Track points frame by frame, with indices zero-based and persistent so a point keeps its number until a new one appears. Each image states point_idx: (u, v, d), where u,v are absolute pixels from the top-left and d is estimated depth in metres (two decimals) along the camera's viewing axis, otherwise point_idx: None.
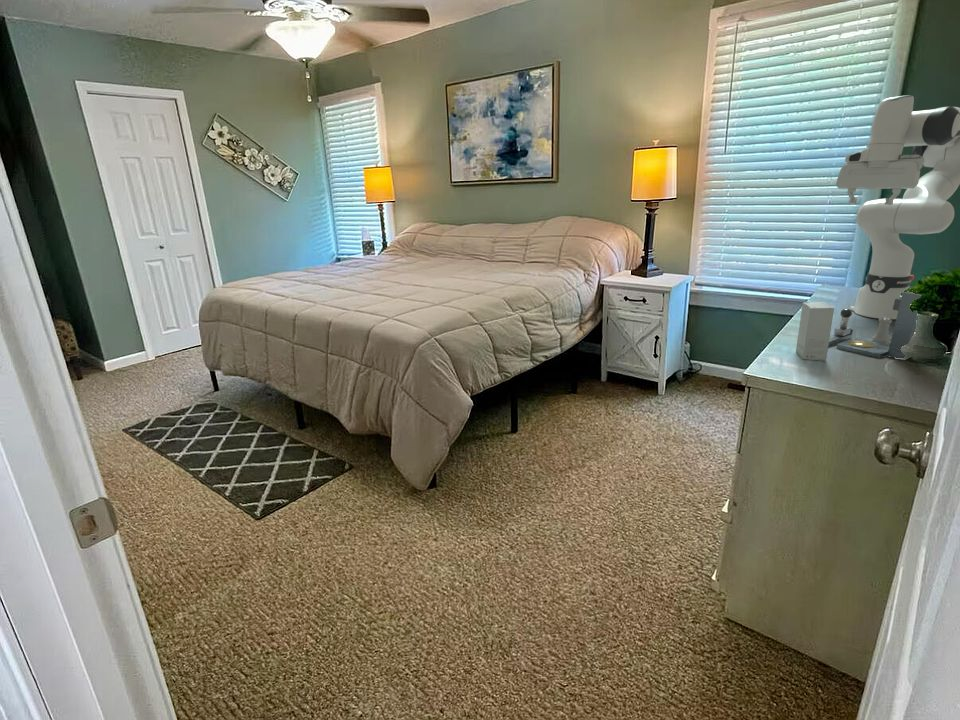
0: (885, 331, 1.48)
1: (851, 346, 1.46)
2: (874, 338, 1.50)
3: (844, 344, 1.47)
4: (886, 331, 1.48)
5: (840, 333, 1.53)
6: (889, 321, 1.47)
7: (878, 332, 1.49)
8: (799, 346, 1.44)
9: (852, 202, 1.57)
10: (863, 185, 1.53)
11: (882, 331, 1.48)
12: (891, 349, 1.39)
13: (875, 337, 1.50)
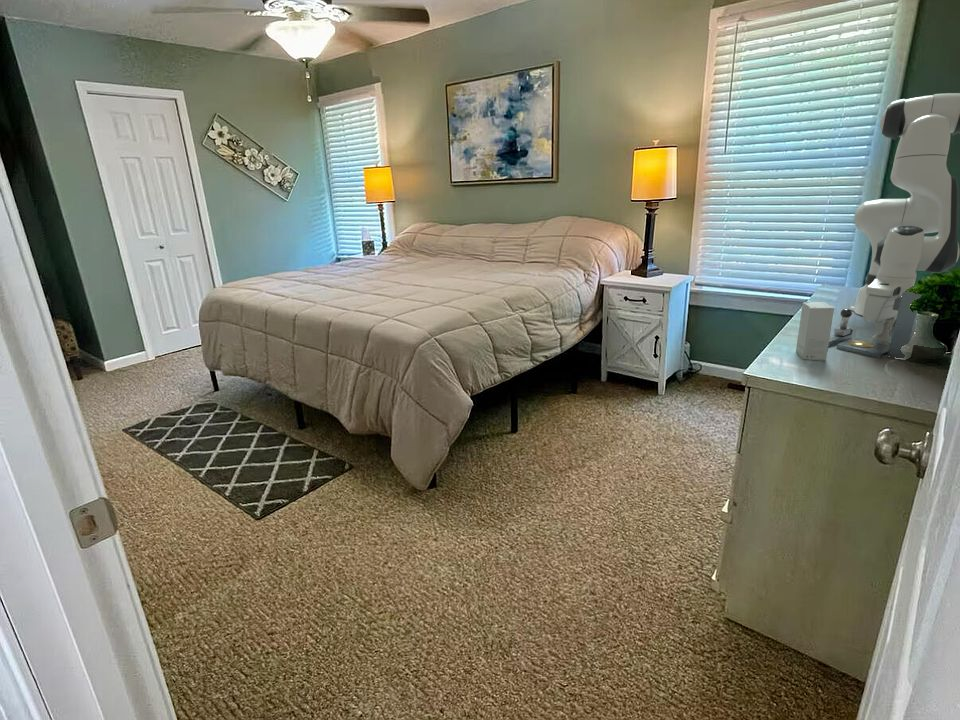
0: (885, 331, 1.48)
1: (851, 346, 1.46)
2: (874, 338, 1.50)
3: (844, 344, 1.47)
4: (886, 331, 1.48)
5: (840, 333, 1.53)
6: (889, 321, 1.47)
7: None
8: (799, 346, 1.44)
9: (883, 332, 1.48)
10: (890, 316, 1.45)
11: None
12: (891, 349, 1.39)
13: (875, 337, 1.50)
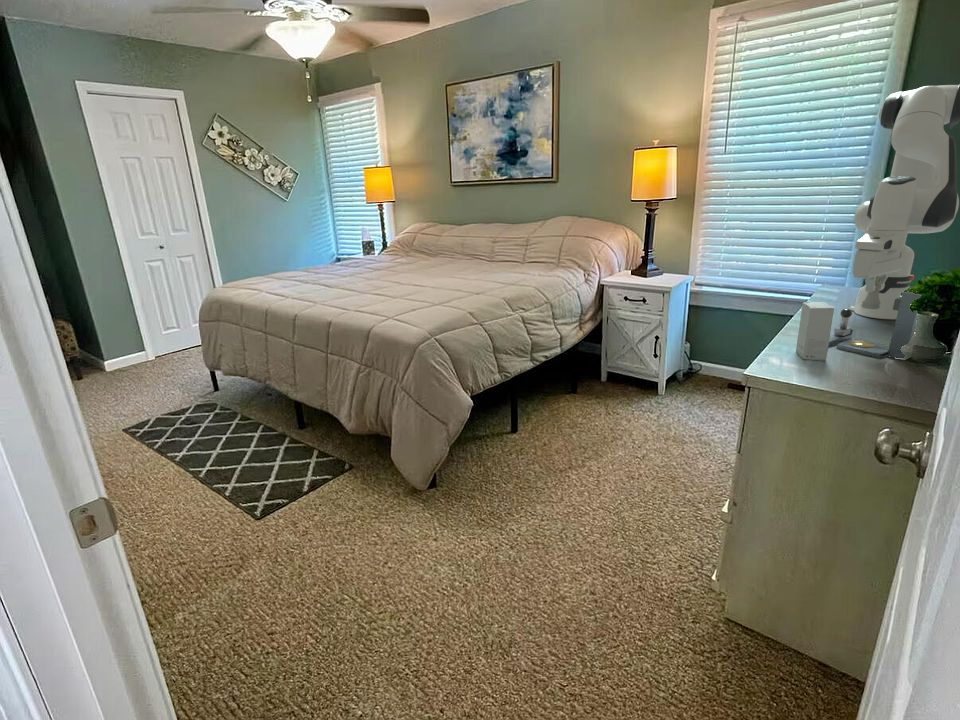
0: (875, 294, 1.41)
1: (851, 346, 1.46)
2: (864, 301, 1.43)
3: (844, 344, 1.47)
4: (876, 294, 1.40)
5: (840, 333, 1.53)
6: (879, 283, 1.39)
7: (868, 295, 1.42)
8: (799, 346, 1.44)
9: (874, 290, 1.40)
10: (881, 273, 1.37)
11: (871, 293, 1.41)
12: (891, 349, 1.39)
13: (865, 300, 1.42)
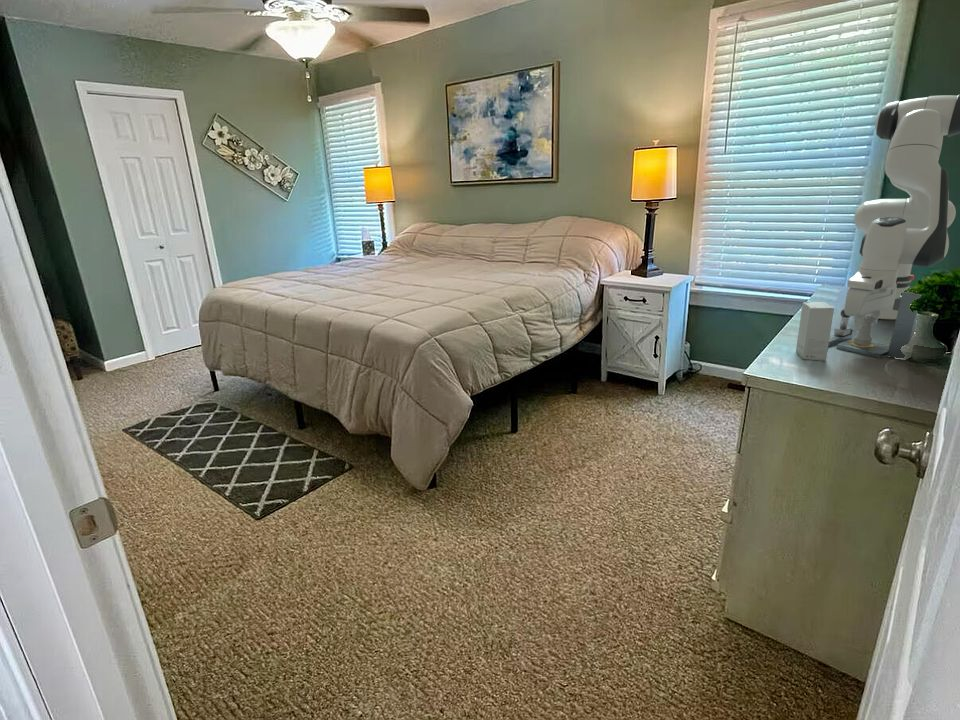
0: (866, 331, 1.44)
1: (851, 346, 1.46)
2: (855, 338, 1.46)
3: (844, 344, 1.47)
4: (868, 331, 1.44)
5: (840, 333, 1.53)
6: (870, 320, 1.43)
7: (860, 332, 1.46)
8: (799, 346, 1.44)
9: (862, 327, 1.43)
10: (872, 310, 1.41)
11: (863, 330, 1.45)
12: (891, 349, 1.39)
13: (856, 337, 1.46)
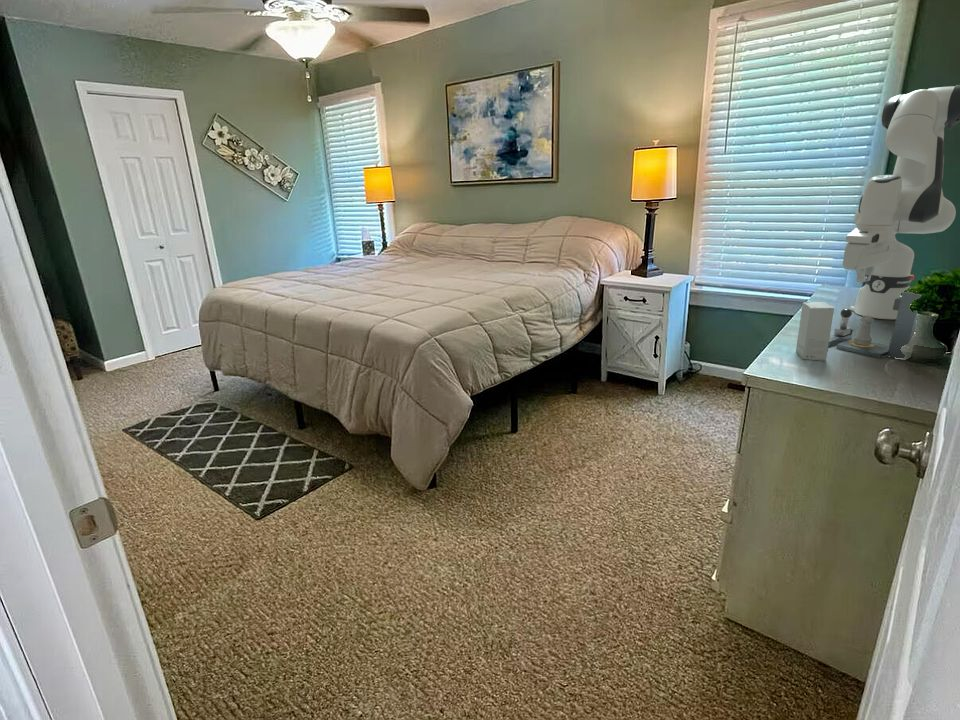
0: (866, 331, 1.44)
1: (851, 346, 1.46)
2: (855, 338, 1.46)
3: (844, 344, 1.47)
4: (868, 331, 1.44)
5: (840, 333, 1.53)
6: (870, 320, 1.43)
7: (860, 332, 1.46)
8: (799, 346, 1.44)
9: (864, 280, 1.51)
10: (869, 265, 1.48)
11: (863, 330, 1.45)
12: (891, 349, 1.39)
13: (856, 337, 1.46)
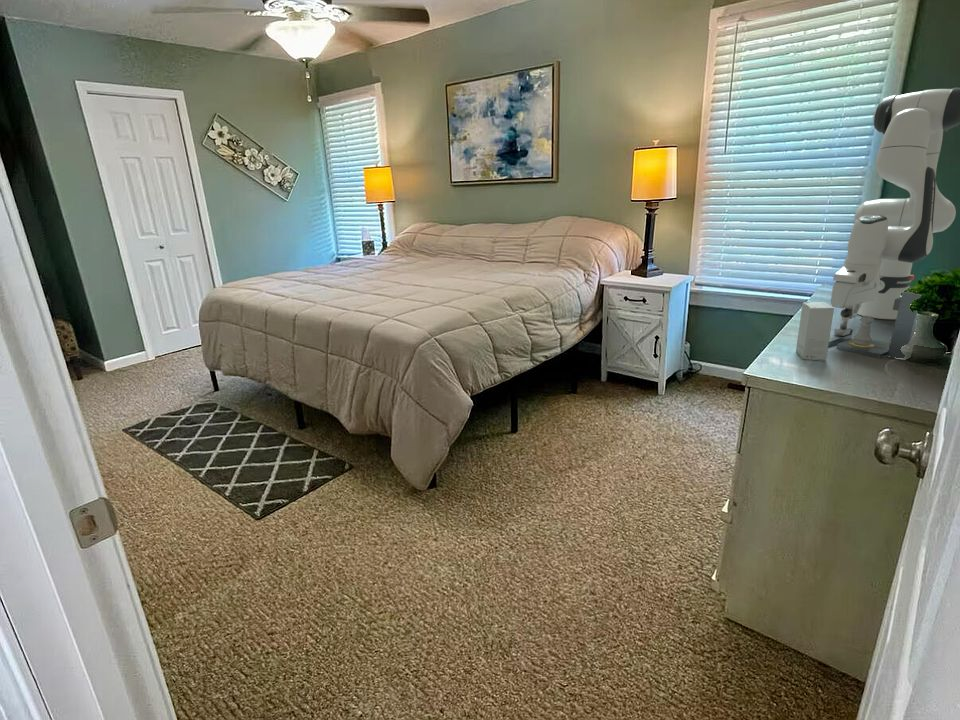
0: (866, 331, 1.44)
1: (851, 346, 1.46)
2: (855, 338, 1.46)
3: (844, 344, 1.47)
4: (868, 331, 1.44)
5: (840, 333, 1.53)
6: (870, 320, 1.43)
7: (860, 332, 1.46)
8: (799, 346, 1.44)
9: (853, 317, 1.54)
10: (857, 302, 1.50)
11: (863, 330, 1.45)
12: (891, 349, 1.39)
13: (856, 337, 1.46)
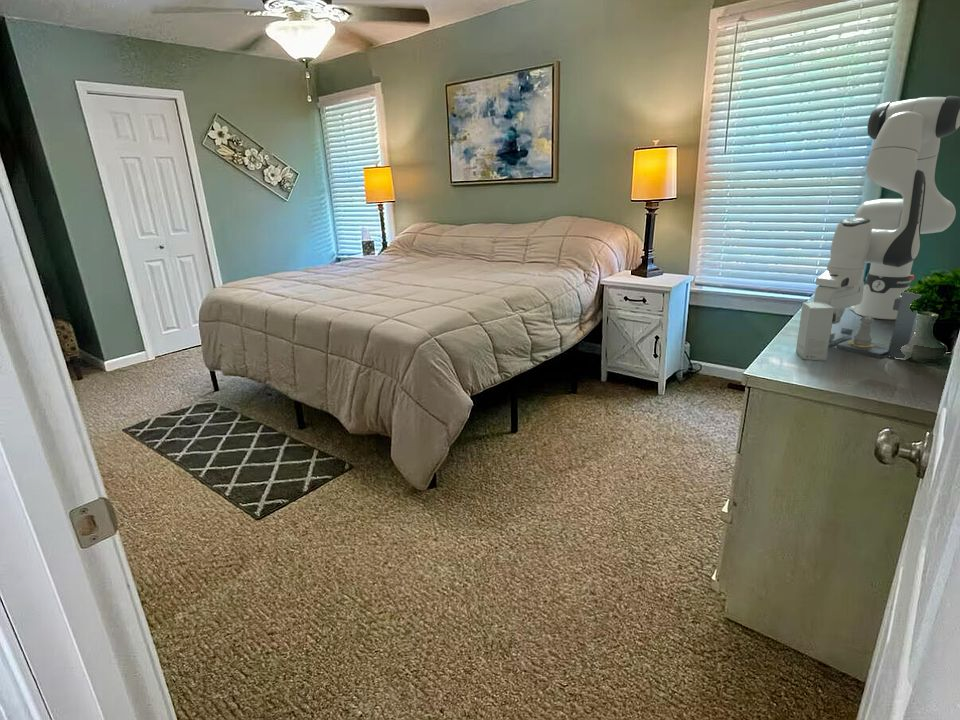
0: (866, 331, 1.44)
1: (851, 346, 1.46)
2: (855, 338, 1.46)
3: (844, 344, 1.47)
4: (868, 331, 1.44)
5: None
6: (870, 320, 1.43)
7: (860, 332, 1.46)
8: (799, 346, 1.44)
9: (837, 322, 1.49)
10: (840, 307, 1.46)
11: (863, 330, 1.45)
12: (891, 349, 1.39)
13: (856, 337, 1.46)
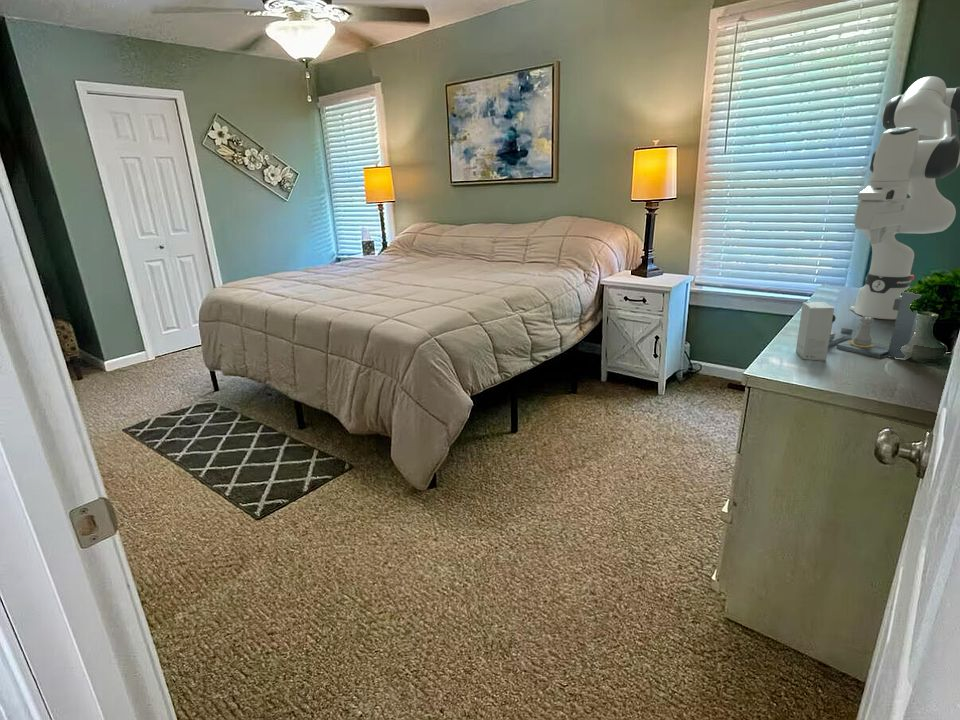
0: (866, 331, 1.44)
1: (851, 346, 1.46)
2: (855, 338, 1.46)
3: (844, 344, 1.47)
4: (868, 331, 1.44)
5: None
6: (870, 320, 1.43)
7: (860, 332, 1.46)
8: (799, 346, 1.44)
9: (878, 242, 1.42)
10: (883, 224, 1.39)
11: (863, 330, 1.45)
12: (891, 349, 1.39)
13: (856, 337, 1.46)
